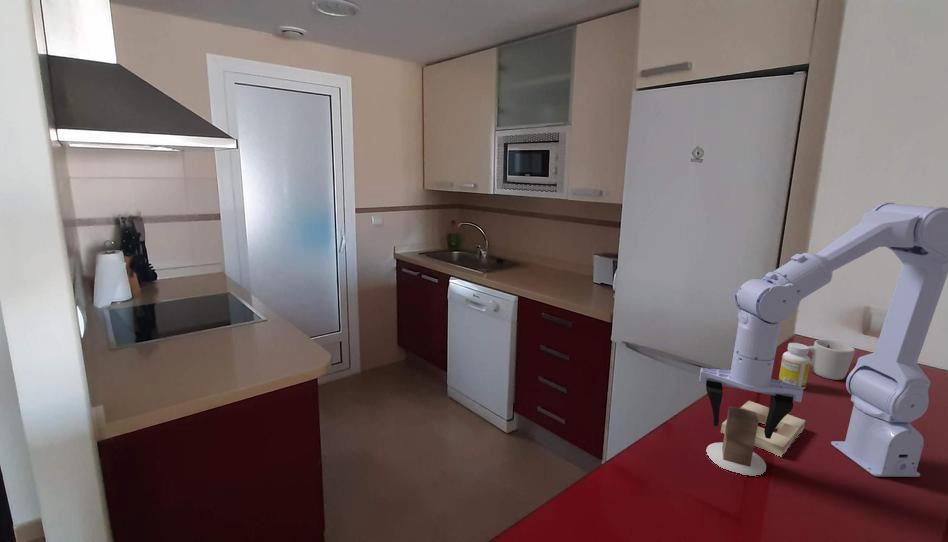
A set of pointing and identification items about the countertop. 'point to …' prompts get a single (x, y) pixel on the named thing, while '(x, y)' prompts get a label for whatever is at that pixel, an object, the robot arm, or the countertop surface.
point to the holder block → (780, 439)
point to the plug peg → (739, 436)
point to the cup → (831, 358)
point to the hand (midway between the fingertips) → (740, 429)
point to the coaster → (717, 457)
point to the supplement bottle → (795, 365)
